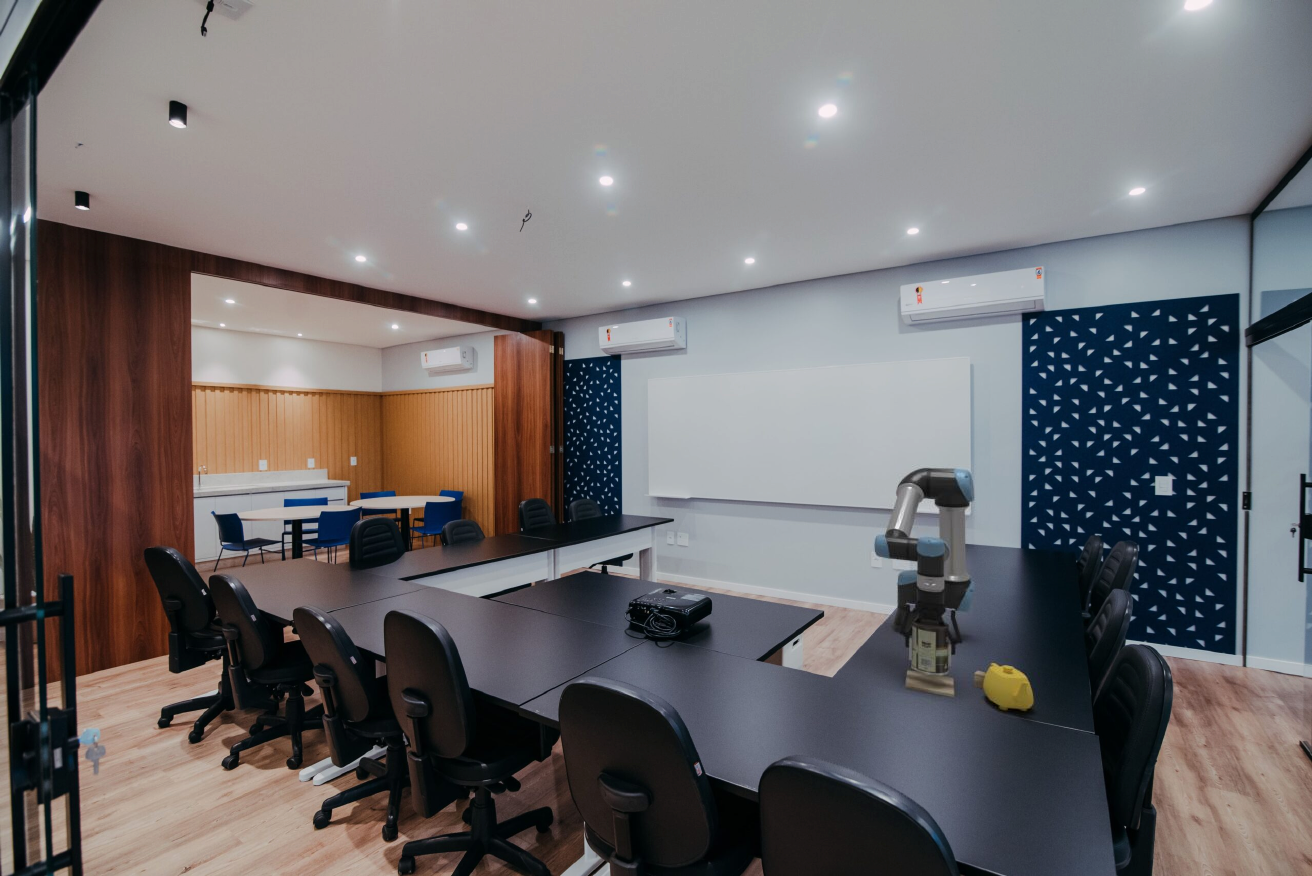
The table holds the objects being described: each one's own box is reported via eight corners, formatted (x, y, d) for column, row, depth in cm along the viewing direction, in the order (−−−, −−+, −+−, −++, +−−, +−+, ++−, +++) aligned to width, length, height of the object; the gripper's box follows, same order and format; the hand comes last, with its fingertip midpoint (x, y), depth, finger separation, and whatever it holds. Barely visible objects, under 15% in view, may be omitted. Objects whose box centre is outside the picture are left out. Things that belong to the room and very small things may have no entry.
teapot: (1049, 722, 150) (1050, 681, 150) (1007, 720, 151) (1007, 680, 151) (1010, 691, 168) (1010, 655, 168) (972, 690, 169) (972, 654, 169)
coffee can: (942, 664, 177) (943, 618, 177) (953, 677, 167) (953, 629, 167) (907, 661, 179) (908, 616, 179) (915, 674, 169) (916, 626, 169)
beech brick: (974, 686, 172) (974, 673, 172) (977, 683, 174) (977, 670, 174) (996, 692, 168) (996, 679, 168) (999, 689, 170) (999, 676, 170)
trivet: (907, 672, 182) (907, 669, 182) (953, 680, 176) (953, 677, 176) (905, 688, 170) (905, 685, 170) (954, 697, 164) (954, 694, 164)
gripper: (889, 586, 175) (889, 658, 175) (973, 596, 165) (972, 673, 164) (891, 581, 181) (890, 651, 181) (972, 590, 171) (971, 664, 171)
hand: (929, 661), depth 173 cm, fingers closed on coffee can, 10 cm apart
